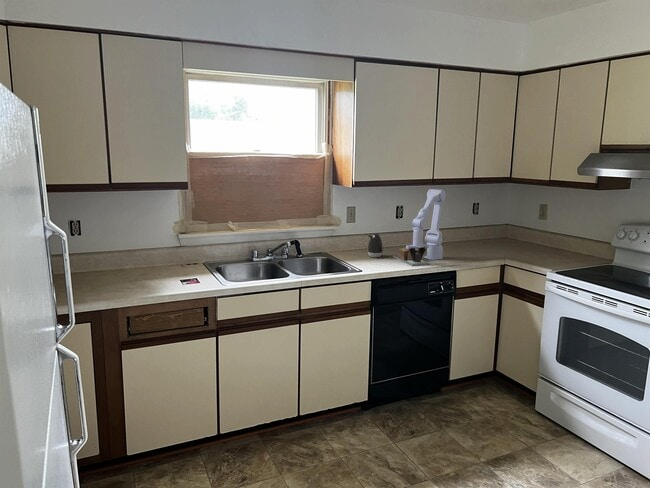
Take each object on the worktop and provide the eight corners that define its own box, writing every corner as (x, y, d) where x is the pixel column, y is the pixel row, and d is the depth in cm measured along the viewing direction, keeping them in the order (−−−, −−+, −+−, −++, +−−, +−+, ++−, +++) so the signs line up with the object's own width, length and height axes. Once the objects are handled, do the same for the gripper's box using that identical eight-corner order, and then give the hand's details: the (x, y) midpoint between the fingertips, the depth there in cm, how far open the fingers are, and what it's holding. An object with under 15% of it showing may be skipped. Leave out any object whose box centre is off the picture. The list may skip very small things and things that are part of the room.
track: (409, 256, 321) (409, 254, 321) (429, 264, 298) (429, 262, 298) (393, 257, 317) (393, 255, 317) (412, 266, 294) (412, 264, 294)
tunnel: (413, 256, 316) (414, 247, 314) (420, 259, 308) (420, 249, 307) (397, 257, 312) (398, 248, 311) (403, 260, 304) (404, 250, 303)
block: (410, 255, 312) (410, 249, 311) (413, 257, 308) (413, 251, 308) (404, 256, 311) (405, 250, 310) (407, 257, 307) (408, 251, 306)
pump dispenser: (364, 255, 320) (364, 232, 317) (378, 254, 324) (379, 231, 321) (370, 258, 311) (371, 235, 308) (385, 257, 315) (386, 234, 312)
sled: (410, 256, 315) (411, 248, 314) (422, 261, 301) (423, 253, 300) (401, 256, 312) (401, 249, 311) (412, 262, 298) (413, 254, 297)
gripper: (410, 239, 292) (409, 262, 295) (431, 238, 297) (430, 260, 299) (404, 237, 299) (403, 259, 301) (425, 236, 303) (424, 258, 306)
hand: (416, 259), depth 301 cm, fingers closed on sled, 4 cm apart
